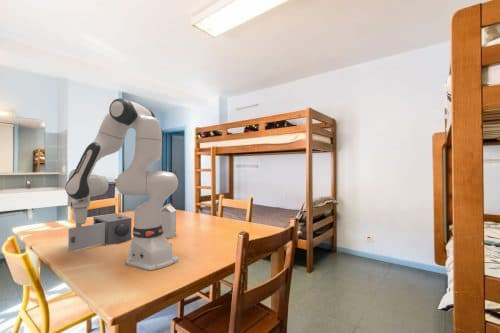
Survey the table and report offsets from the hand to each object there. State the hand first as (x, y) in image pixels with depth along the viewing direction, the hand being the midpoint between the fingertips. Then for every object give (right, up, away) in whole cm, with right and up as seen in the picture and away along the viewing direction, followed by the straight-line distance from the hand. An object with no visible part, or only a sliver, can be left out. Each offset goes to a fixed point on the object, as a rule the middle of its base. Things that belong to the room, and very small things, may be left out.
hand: (78, 230), depth 114 cm
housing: (+6, -10, +18) cm, 21 cm away
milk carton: (+35, -10, +23) cm, 44 cm away
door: (+4, -9, +2) cm, 10 cm away
